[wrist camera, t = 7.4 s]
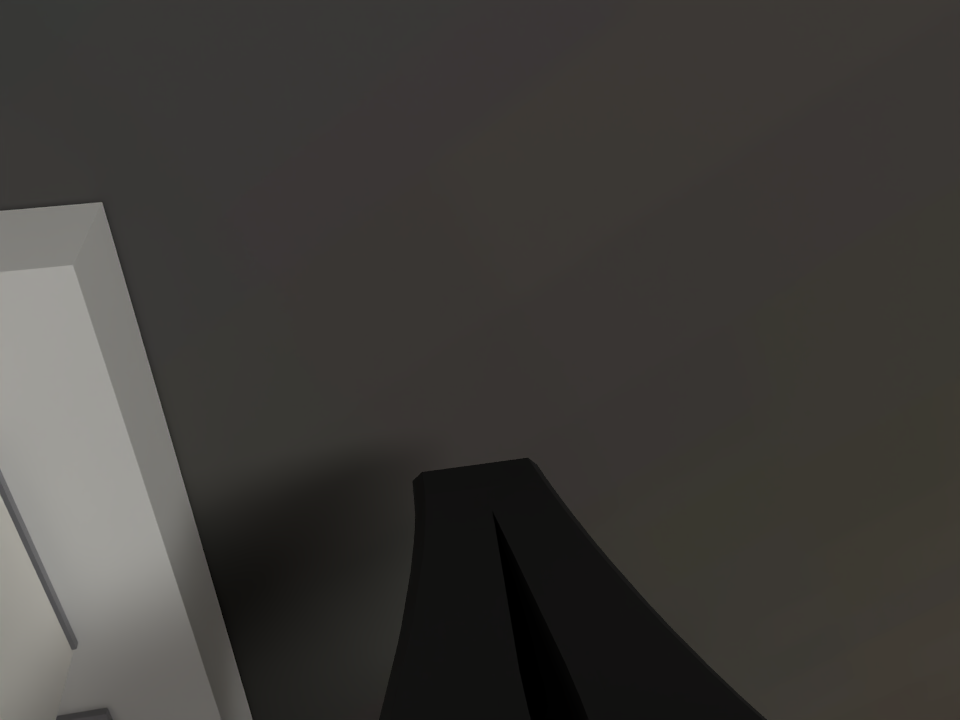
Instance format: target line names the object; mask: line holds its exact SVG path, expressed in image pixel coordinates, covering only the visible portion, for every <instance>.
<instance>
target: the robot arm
mask: <svg viewBox="0 0 960 720" xmlns="http://www.w3.org/2000/svg"><path fill="white" fill-rule="evenodd" d="M413 492H414V504H415V536H414V547H413V556H412V566H411V574H410V579H409V585H408V591H407V597H406V603H405V609H404V614H403V620H402V626H401V631H400V636H399V641H398V645H397V649H396V654H395V658H394V662H393V666H392V670H391V674H390V678H389V682H388V686H387V691H386V695H385V699H384V703H383V707H382V711H381V715H380V718H379V720H767V719H765V718H764V717H763V716H762V715H761V714H760V713H759V712H758V711H756V710H755V709H754V708H753V707H752V706H751V705H750V704H749V703H748V702H746V701H745V700H744V699H743V698H742V697H741V696H740V695H739V694H738V693H737V692H736V691H735V690H734V689H733V688H731V687H730V686H729V685H728V684H727V683H726V682H725V681H724V680H723V679H722V678H721V677H720V676H719V675H718V674H717V673H716V672H715V671H714V670H713V669H712V668H711V667H710V666H709V665H707V664H706V663H705V661H704V660H703V659H702V658H701V657H700V656H699V655H698V654H697V653H696V652H695V651H694V650H693V649H692V648H691V647H690V646H689V645H688V644H687V643H686V642H685V641H684V640H683V639H682V638H681V637H680V636H679V635H678V634H677V633H676V632H675V631H674V630H673V629H672V628H671V627H670V626H669V625H668V624H667V623H666V622H665V621H664V620H663V618H662V617H661V616H660V615H659V614H658V613H657V612H656V611H655V610H654V609H653V608H652V607H651V606H650V605H649V604H648V602H647V601H646V600H645V599H644V598H643V597H642V596H641V594H640V593H639V592H638V591H637V590H636V589H635V588H634V587H633V585H632V584H631V583H630V582H629V581H628V580H627V579H626V578H625V576H624V575H623V574H622V573H621V572H620V571H619V570H618V569H617V567H616V566H615V565H614V564H613V563H612V562H611V561H610V559H609V558H608V557H607V556H606V555H605V553H604V552H603V551H602V550H601V549H600V547H599V546H598V545H597V544H596V543H595V541H594V540H593V539H592V538H591V536H590V535H589V534H588V533H587V531H586V530H585V529H584V528H583V526H582V525H581V524H580V523H579V521H578V520H577V519H576V518H575V516H574V515H573V514H572V513H571V511H570V510H569V509H568V507H567V506H566V505H565V503H564V502H563V501H562V499H561V498H560V497H559V495H558V494H557V493H556V491H555V490H554V488H553V487H552V486H551V484H550V483H549V481H548V480H547V479H546V477H545V476H544V474H543V473H542V471H541V470H540V468H539V467H538V465H537V464H535V463H534V462H533V461H531V460H530V459H529V458H523V459H516V460H508V461H501V462H494V463H486V464H479V465H471V466H464V467H457V468H449V469H442V470H434V471H427V472H422V473H421V474H420V475H419V476H418V477H416V478H415V479H414V480H413Z"/></svg>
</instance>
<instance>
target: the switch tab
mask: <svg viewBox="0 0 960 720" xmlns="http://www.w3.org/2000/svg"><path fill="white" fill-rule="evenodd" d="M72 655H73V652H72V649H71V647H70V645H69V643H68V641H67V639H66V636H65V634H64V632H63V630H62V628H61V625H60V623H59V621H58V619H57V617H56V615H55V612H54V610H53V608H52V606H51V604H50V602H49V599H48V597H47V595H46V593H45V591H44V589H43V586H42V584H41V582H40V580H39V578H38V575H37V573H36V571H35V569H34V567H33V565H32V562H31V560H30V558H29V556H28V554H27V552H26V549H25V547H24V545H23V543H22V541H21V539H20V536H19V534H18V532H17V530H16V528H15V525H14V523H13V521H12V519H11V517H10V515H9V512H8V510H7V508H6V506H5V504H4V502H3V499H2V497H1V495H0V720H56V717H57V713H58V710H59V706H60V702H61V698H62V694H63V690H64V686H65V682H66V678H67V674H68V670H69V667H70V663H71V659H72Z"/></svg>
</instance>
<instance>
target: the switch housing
mask: <svg viewBox="0 0 960 720" xmlns="http://www.w3.org/2000/svg"><path fill="white" fill-rule="evenodd" d="M0 495H1V497H2V499H3V502H4V504H5V506H6V508H7V510H8V512H9V515H10V517H11V519H12V521H13V523H14V525H15V528H16V530H17V532H18V534H19V536H20V539H21V541H22V543H23V545H24V547H25V549H26V552H27V554H28V556H29V558H30V560H31V562H32V565H33V567H34V569H35V571H36V573H37V575H38V578H39V580H40V582H41V584H42V586H43V589H44V591H45V593H46V595H47V597H48V599H49V602H50V604H51V606H52V608H53V610H54V612H55V615H56V617H57V619H58V621H59V623H60V625H61V628H62V630H63V632H64V634H65V636H66V639H67V641H68V643H69V645H70V647H71V649H72V652H73V655H72V659H71V663H70V667H69V670H68V674H67V678H66V682H65V686H64V690H63V694H62V698H61V702H60V706H59V710H58V713H57V717H56V720H253V719H252V716H251V712H250V709H249V706H248V702H247V699H246V695H245V692H244V688H243V685H242V682H241V678H240V675H239V671H238V668H237V664H236V661H235V657H234V654H233V651H232V647H231V644H230V640H229V637H228V633H227V630H226V626H225V623H224V620H223V616H222V613H221V609H220V606H219V602H218V599H217V596H216V592H215V589H214V585H213V582H212V578H211V575H210V571H209V568H208V565H207V561H206V558H205V554H204V551H203V547H202V544H201V541H200V537H199V534H198V530H197V527H196V523H195V520H194V516H193V513H192V510H191V506H190V503H189V499H188V496H187V492H186V489H185V486H184V482H183V479H182V475H181V472H180V468H179V465H178V461H177V458H176V455H175V451H174V448H173V444H172V441H171V437H170V434H169V431H168V427H167V424H166V420H165V417H164V413H163V410H162V406H161V403H160V400H159V396H158V393H157V389H156V386H155V382H154V379H153V376H152V372H151V369H150V365H149V362H148V358H147V355H146V351H145V348H144V345H143V341H142V338H141V334H140V331H139V327H138V324H137V320H136V317H135V314H134V310H133V307H132V303H131V300H130V296H129V293H128V290H127V286H126V283H125V279H124V276H123V272H122V269H121V265H120V262H119V259H118V255H117V252H116V248H115V245H114V241H113V238H112V235H111V231H110V228H109V224H108V221H107V217H106V214H105V210H104V207H103V204H102V202H99V203H87V204H76V205H64V206H53V207H41V208H30V209H18V210H6V211H0Z"/></svg>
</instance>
